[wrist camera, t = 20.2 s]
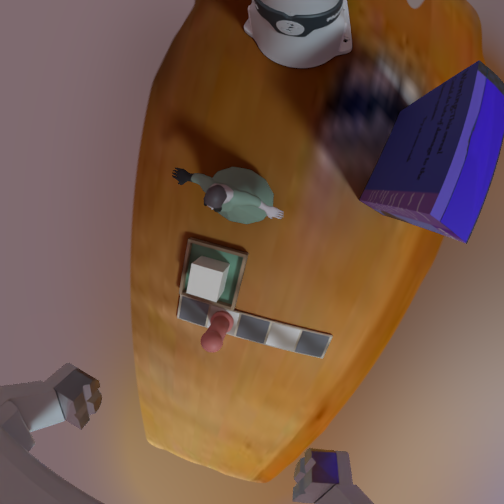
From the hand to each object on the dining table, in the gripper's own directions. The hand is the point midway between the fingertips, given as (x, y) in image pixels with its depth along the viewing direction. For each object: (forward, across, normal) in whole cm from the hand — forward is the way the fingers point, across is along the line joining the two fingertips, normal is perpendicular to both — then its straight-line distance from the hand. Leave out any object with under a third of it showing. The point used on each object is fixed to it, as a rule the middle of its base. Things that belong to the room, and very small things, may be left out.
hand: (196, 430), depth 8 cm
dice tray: (+37, +8, +8) cm, 39 cm away
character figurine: (+37, +7, -6) cm, 38 cm away
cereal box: (+37, -16, -18) cm, 44 cm away
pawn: (+36, +4, +16) cm, 40 cm away
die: (+37, +8, +8) cm, 38 cm away
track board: (+37, -1, +16) cm, 40 cm away
